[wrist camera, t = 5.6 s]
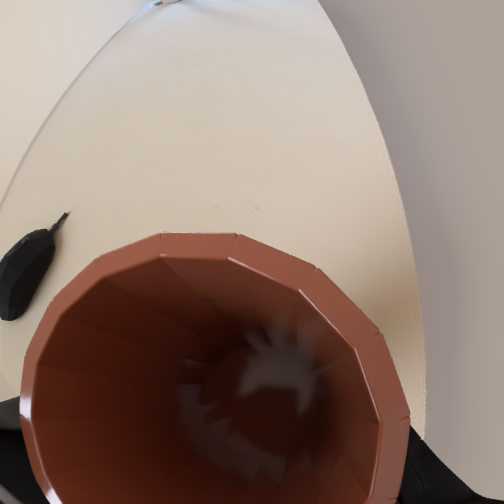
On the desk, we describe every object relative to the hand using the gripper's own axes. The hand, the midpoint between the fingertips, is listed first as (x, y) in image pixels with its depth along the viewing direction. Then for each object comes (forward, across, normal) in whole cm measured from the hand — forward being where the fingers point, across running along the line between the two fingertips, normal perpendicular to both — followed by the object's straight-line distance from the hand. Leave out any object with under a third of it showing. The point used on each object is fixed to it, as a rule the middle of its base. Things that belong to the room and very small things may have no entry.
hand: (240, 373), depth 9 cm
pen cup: (+4, 0, +6) cm, 7 cm away
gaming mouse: (+13, +27, +4) cm, 31 cm away
